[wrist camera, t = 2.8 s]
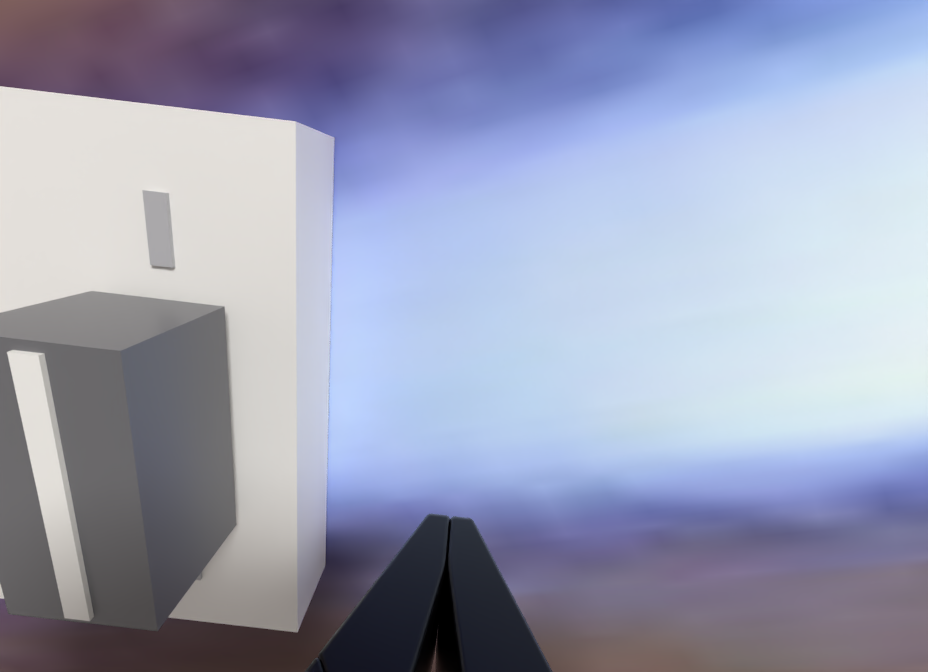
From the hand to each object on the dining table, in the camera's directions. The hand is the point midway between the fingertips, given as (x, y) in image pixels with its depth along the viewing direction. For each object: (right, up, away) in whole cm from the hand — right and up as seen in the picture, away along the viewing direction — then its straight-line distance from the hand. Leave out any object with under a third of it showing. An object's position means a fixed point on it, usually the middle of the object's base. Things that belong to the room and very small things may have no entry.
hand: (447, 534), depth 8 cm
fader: (-7, +2, +3) cm, 8 cm away
